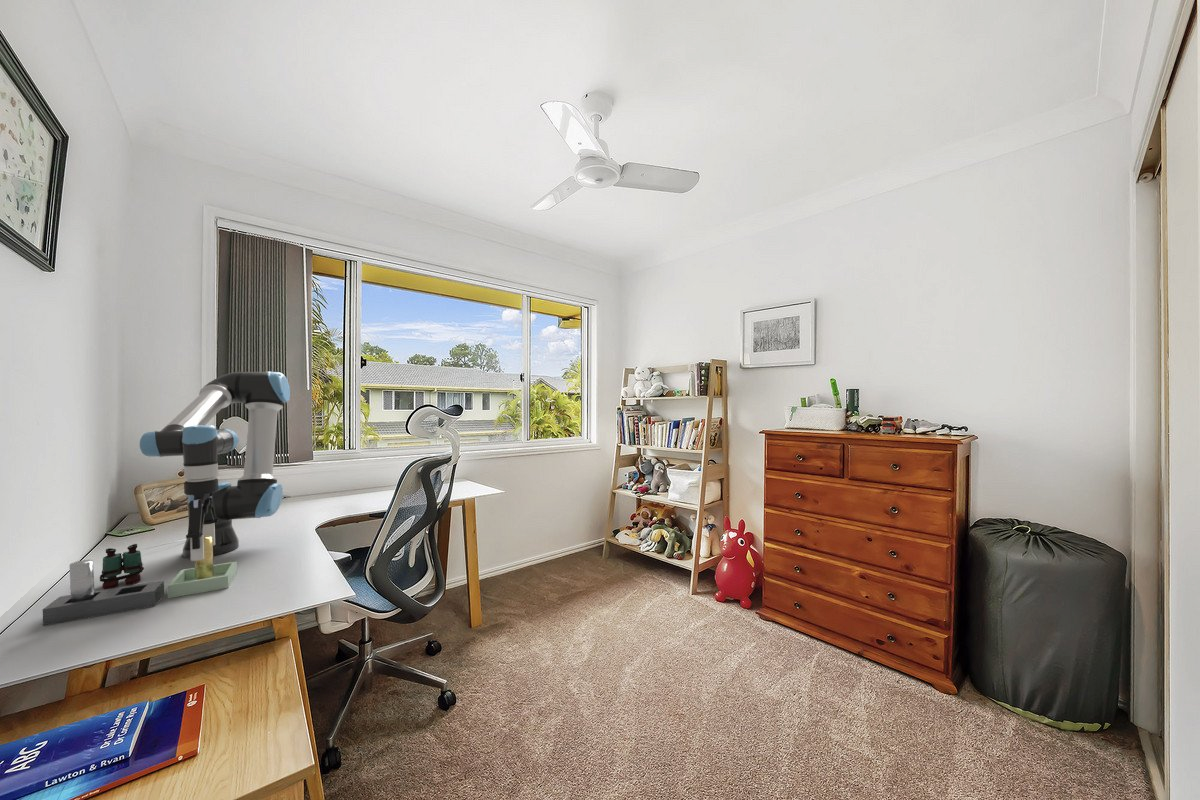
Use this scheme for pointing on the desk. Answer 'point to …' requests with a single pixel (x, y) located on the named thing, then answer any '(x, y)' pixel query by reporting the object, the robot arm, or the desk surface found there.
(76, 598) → the pin
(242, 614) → the desk surface
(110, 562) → the binoculars
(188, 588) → the tray
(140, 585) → the bar
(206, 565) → the brass pin
